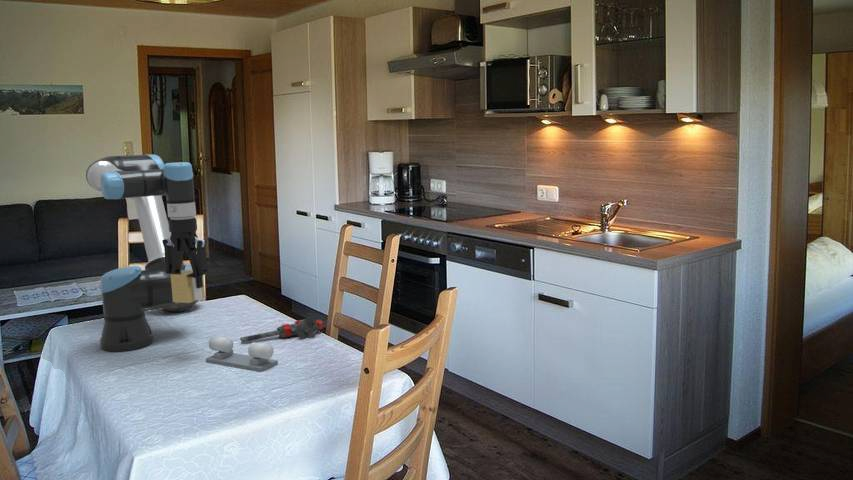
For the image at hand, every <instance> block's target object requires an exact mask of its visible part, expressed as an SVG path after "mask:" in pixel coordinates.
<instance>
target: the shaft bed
mask: <svg viewBox="0 0 853 480" xmlns="http://www.w3.org/2000/svg"><path fill="white" fill-rule="evenodd" d="M208 348H209V349H210V350H212V351H215V352H214V353H213V355H211V356H209V357H206V358H205V362H206V363H211V364H214V365H215V364H216V365H220V366H226V367H233V368H237V369H243V370H249V371H255V372H260V373H262V372H263V371H266V370H268V369H270V368H272V367H274V366H276V365H278V364H279V360H277V359H272V357H273V355H274V346H273V345H271V344H267V343H264V342H255V341H253V342H251V343H250V344H249V346H248V349H247V353H248V355H246V354H242V353H235V352H234V349H233V348H234V341H233V339H232V338H231V337H230V338H229V337H223V336H216V335H213V336H211V337H210V339H209V340H208Z"/></svg>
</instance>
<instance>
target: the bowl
mask: <svg viewBox="0 0 853 480" xmlns="http://www.w3.org/2000/svg"><path fill="white" fill-rule="evenodd" d="M198 301H199V300H196V301H193V302H190V303H177V304H169V305H163V306H157V307H158V308H160V309H162V310H165V311H168V312H173V313H174V311H175V313H177V312H176V311H178V312H183V311H184V312H185V311H186V310H188V309H190V308H191V307H193V306H195V304H197V303H198Z"/></svg>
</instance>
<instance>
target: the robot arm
mask: <svg viewBox="0 0 853 480" xmlns="http://www.w3.org/2000/svg"><path fill="white" fill-rule="evenodd" d="M85 178H86V179H85V180H86V181H87V183H88V185H89V186H90V187H91V188H92V189H94V190H95V191H98V192H101V193H102V197H103V198H104V199H106V200H121V199H131V200H133V201H134V205H135V209H136V213H137V219H138V222H139V227H140V231H141V232H140V233H141V235H142V241H143V243H144V244H143V245H144V248H145V252H146V257H147V260H148V261H147V262H146V263H145V265H144V269H142V268H141V267H140V266H138V265H132V266H125V267H124V266H123V267H119V268H115V269H112V270H110V271H107V272H105V273H104V274H103V275H102V276H101V278H100V292H101V301H102V308H103V309H102V310H103V320H104V323H103V327H102V331H101V332H102V333H101V337H100V339H99V344H100V349H101V350H103V351H106V352H127V351H133V350H138V349H142V348H145V347H147V346H150V345H151V344H153V343H154V334H153V331H152V328H151V327H150V325H149V322H148V320H147V317H146V310H145V309H147V308H154V307H155V308H156V307H158V306H163V305H169V304H177V303H181V302H173V297H172V285H171V274H173V273H176V272H180V271H183V270H187V269H188V270H193V274H194V276H193V277H192V285H193V297H194V300H198V299H199V300H201V298H202V290H201V288H202V287H203V280H204V279H203V280H202V276H203V277H204V276H205V275H207V274H209V269H208V267H209V266H208V259H207V251H206V246H207V239H205V238H203V239H202V238H199V237H198V234H197V231H198V225H197V224H198V223H197V218H196V217H195V216H197V209H196V208H197V207H196V199H195V197H196V196H195V186H194V172H193V167H192V164H191V162H188V161H187V162H184V161H182V162H181V161H180V162H167V163H164V161H163V159H162V158H161V157H160V156H159V155H157V154H147V153H143V154H134V155H109V156H105V157H101V158H99V159H97V160H95V161H92V162H91V163H90V164H89V165H88V167H87V169H86V173H85ZM163 196H165V197H166V208H167V213H166V209H165V205H164V201H163ZM168 218H169V219H168ZM184 253H185V255H187V258H188V261H189V263H190V264H184V260H183V256H184ZM202 299H203V298H202ZM199 300H198V301H199Z"/></svg>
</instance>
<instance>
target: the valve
mask: <svg viewBox="0 0 853 480" xmlns="http://www.w3.org/2000/svg"><path fill="white" fill-rule="evenodd" d="M323 328H324V322H323V320H321V319H315V320H313V319H309V318H304V319H300V320H295V321H294V323H292V324H290V323H285V324H282V325H281V326H279V327H277V328H276V330H273V331H268V332H263V333H258V334H252V335H246V336H241V337H240V341H241V343H245V342H251V341H256V340H260V339H267V338H270V337H276V336H279V338H282V339H288V337H289V338H291V337H292V336H296V335H297V336H298V337H299V338H300V339H301V340H307V339H306V338H309V339H312V338H311V337H313V338H314V337H315V336H316V334H317V332H318V331H319V330H323Z"/></svg>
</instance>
